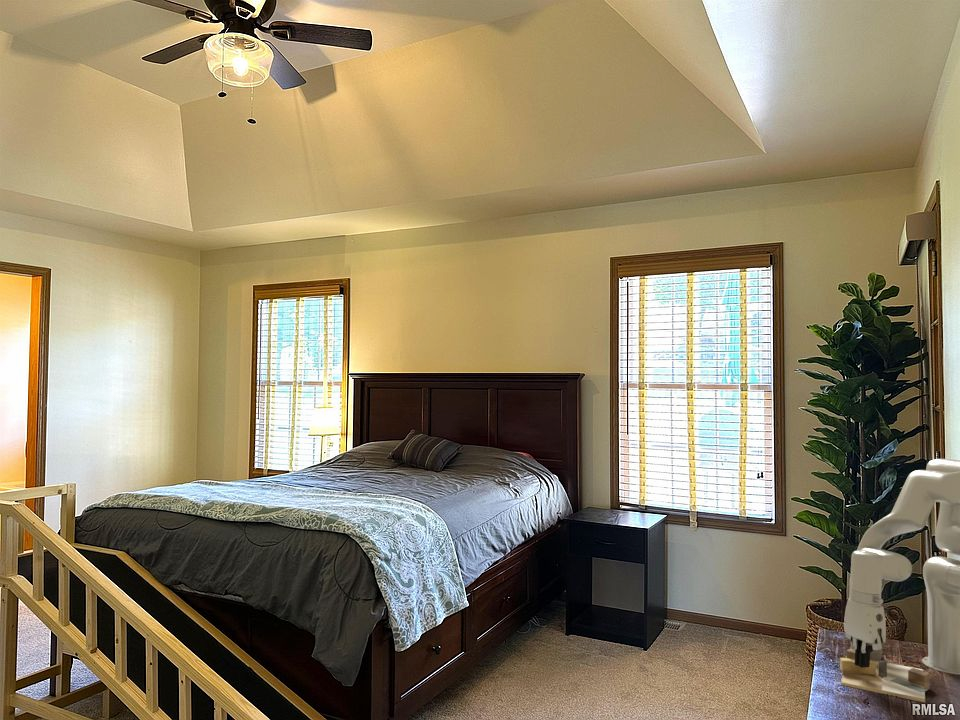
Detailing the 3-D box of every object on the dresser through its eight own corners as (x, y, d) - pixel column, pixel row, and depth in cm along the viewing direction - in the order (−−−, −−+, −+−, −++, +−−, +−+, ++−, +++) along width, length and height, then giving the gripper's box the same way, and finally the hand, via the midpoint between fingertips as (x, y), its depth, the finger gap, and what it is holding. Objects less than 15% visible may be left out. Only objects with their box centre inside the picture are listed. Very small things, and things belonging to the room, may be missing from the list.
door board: (846, 659, 205) (845, 642, 205) (928, 675, 194) (927, 656, 194) (841, 686, 187) (840, 667, 187) (931, 705, 176) (931, 685, 176)
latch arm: (873, 671, 192) (873, 660, 193) (876, 674, 190) (876, 663, 190) (839, 668, 194) (839, 657, 194) (842, 671, 192) (842, 660, 192)
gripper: (899, 605, 184) (896, 676, 183) (853, 589, 199) (850, 655, 198) (877, 606, 182) (874, 678, 181) (832, 589, 197) (829, 656, 196)
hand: (862, 665), depth 189 cm, fingers closed
